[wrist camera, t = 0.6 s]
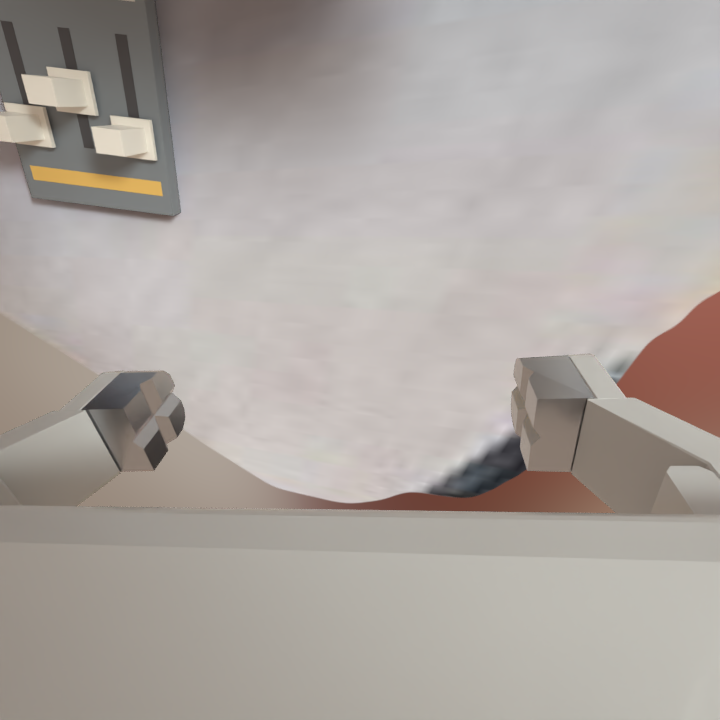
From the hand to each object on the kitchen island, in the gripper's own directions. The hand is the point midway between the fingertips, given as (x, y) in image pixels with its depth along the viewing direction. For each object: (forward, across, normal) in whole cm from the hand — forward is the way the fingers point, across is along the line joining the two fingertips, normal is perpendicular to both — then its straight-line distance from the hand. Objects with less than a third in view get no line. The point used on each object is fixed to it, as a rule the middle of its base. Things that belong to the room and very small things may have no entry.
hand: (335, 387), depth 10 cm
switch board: (+45, +34, -10) cm, 57 cm away
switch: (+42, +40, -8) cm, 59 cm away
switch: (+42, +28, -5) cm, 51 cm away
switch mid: (+42, +34, -10) cm, 55 cm away
